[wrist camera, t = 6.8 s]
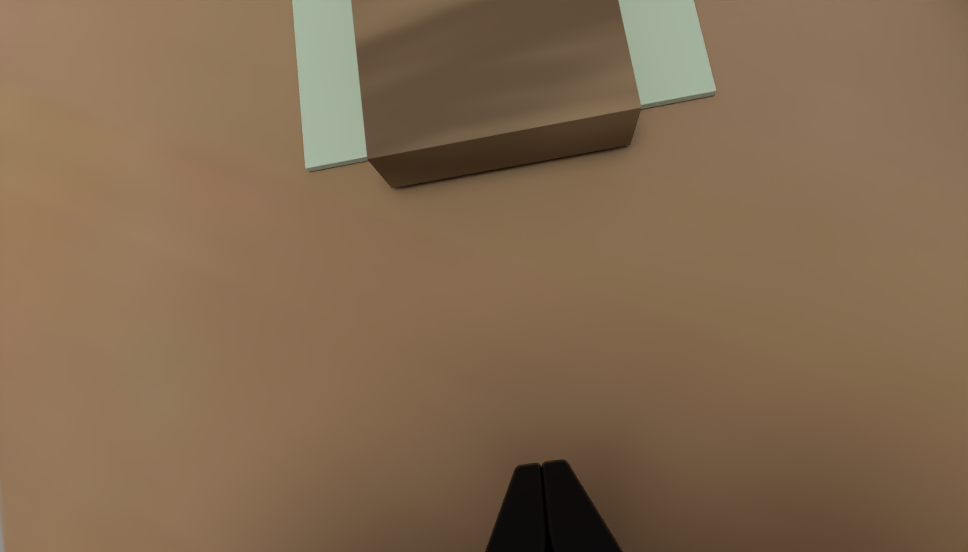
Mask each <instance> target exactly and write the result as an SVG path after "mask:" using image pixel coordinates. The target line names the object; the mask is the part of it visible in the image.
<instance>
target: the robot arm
mask: <svg viewBox="0 0 968 552" xmlns="http://www.w3.org/2000/svg"><path fill="white" fill-rule="evenodd" d="M485 552H623V551H622V550H621V548H620V546H619V545H618V543H617V542H616V540H615V538H614V537H613V535H612V533H611V532H610V530H609V529H608V527H607V525H606V524H605V522H604V520H603V519H602V517H601V516H600V514H599V512H598V511H597V509H596V507H595V506H594V504H593V503H592V501H591V499H590V498H589V496H588V494H587V493H586V491H585V489H584V488H583V486H582V485H581V483H580V481H579V480H578V478H577V476H576V475H575V473H574V472H573V470H572V468H571V467H570V465H569V464H568V462H567V461H566V460H563V459H561V460H553V461H546V462H544V463H543V464H542V467H541V465H540V464H539V463H530V464H523V465H518V466H517V467H516V468H515V470H514V473H513V475H512V478H511V481H510V484H509V487H508V489H507V492H506V495H505V498H504V500H503V503H502V506H501V509H500V512H499V514H498V517H497V520H496V523H495V525H494V528H493V531H492V534H491V537H490V539H489V542H488V545H487V548H486V550H485Z"/></svg>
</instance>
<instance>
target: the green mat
mask: <svg viewBox="0 0 968 552" xmlns="http://www.w3.org/2000/svg"><path fill="white" fill-rule="evenodd" d="M618 1H619V6H620V10H621V15H622V20H623V24H624V29H625V33H626V38H627V43H628V47H629V52H630V57H631V61H632V66H633V70H634V75H635V80H636V84H637V89H638V94H639V98H640V103H641V107H642V108H641V109H644V108H650V107H655V106H660V105H666V104H671V103H676V102H682V101H687V100H692V99H697V98H703V97H708V96H713V95H714V94H715V92H716V88H715V84H714V80H713V76H712V72H711V68H710V64H709V60H708V56H707V52H706V48H705V44H704V40H703V36H702V32H701V28H700V24H699V20H698V16H697V12H696V8H695V4H694V0H618ZM292 2H293V15H294V28H295V41H296V54H297V66H298V79H299V92H300V105H301V117H302V130H303V143H304V156H305V168H306V169H307V170H308V171H309V172H310V171H315V170H321V169H326V168H331V167H337V166H342V165H347V164H353V163H358V162H363V161H368V159H367V151H366V141H365V132H364V122H363V112H362V102H361V93H360V83H359V73H358V63H357V54H356V44H355V34H354V24H353V15H352V5H351V0H292Z"/></svg>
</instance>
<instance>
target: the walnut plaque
mask: <svg viewBox="0 0 968 552" xmlns="http://www.w3.org/2000/svg"><path fill="white" fill-rule="evenodd" d="M351 5H352V15H353V24H354V34H355V44H356V54H357V63H358V73H359V83H360V93H361V102H362V112H363V122H364V132H365V141H366V151H367V159H368V161H369V162H370V163H371V164H372V165H373V166H374V168H375V169H376V170H377V171H378V172H379V174H380V175H381V176H382V177H383V178H384V179H385V181H386V182H387V183H388V184H389V185H390V186H391V188H395V187H401V186H406V185H412V184H417V183H423V182H428V181H434V180H439V179H445V178H450V177H456V176H461V175H467V174H472V173H478V172H483V171H489V170H494V169H500V168H505V167H511V166H516V165H522V164H527V163H533V162H538V161H544V160H549V159H555V158H560V157H566V156H571V155H577V154H582V153H588V152H593V151H598V150H604V149H609V148H615V147H620V146H626V145H630V143H631V140H632V136H633V133H634V130H635V127H636V124H637V120H638V117H639V114H640V111H641V108H642V107H641V103H640V98H639V94H638V89H637V84H636V80H635V75H634V70H633V66H632V61H631V57H630V52H629V47H628V43H627V38H626V33H625V29H624V24H623V20H622V15H621V10H620V6H619V1H618V0H351Z"/></svg>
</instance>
